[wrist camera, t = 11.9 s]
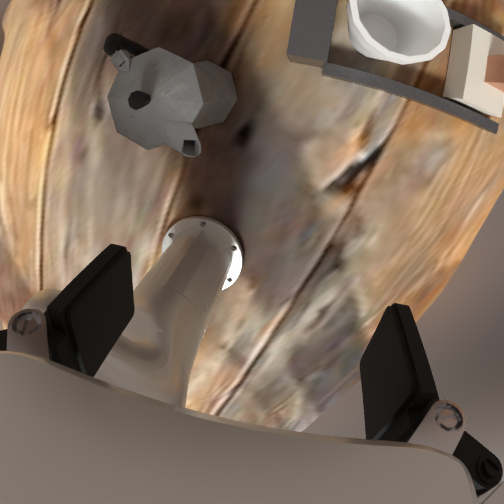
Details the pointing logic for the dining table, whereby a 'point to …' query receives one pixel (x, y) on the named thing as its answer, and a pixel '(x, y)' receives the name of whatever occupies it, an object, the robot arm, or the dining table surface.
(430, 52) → the foam cup
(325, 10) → the grey frame
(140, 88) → the coffeepot
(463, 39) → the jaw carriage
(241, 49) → the dining table surface
